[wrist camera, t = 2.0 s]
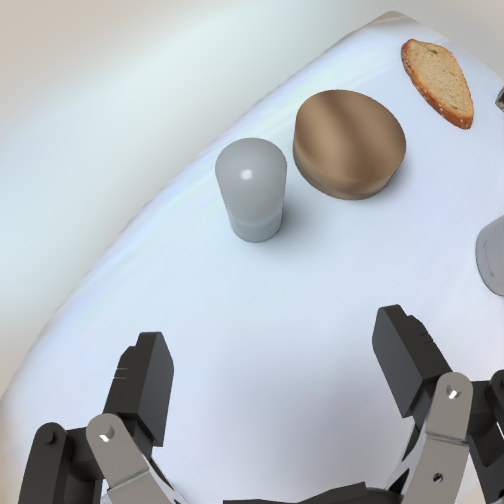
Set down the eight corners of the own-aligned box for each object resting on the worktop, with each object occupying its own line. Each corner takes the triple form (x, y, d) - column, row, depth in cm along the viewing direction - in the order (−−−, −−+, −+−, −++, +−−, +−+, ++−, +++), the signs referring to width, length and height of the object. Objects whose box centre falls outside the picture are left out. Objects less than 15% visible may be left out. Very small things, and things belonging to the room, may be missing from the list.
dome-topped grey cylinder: (277, 192, 32) (281, 134, 22) (284, 239, 30) (292, 193, 21) (228, 198, 32) (213, 142, 22) (232, 245, 30) (216, 201, 21)
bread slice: (463, 138, 34) (474, 123, 30) (371, 65, 38) (376, 48, 34) (490, 98, 37) (498, 86, 33) (416, 39, 41) (421, 26, 37)
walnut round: (374, 117, 35) (384, 91, 30) (402, 197, 31) (420, 176, 26) (285, 118, 35) (286, 90, 30) (302, 205, 31) (308, 182, 27)
